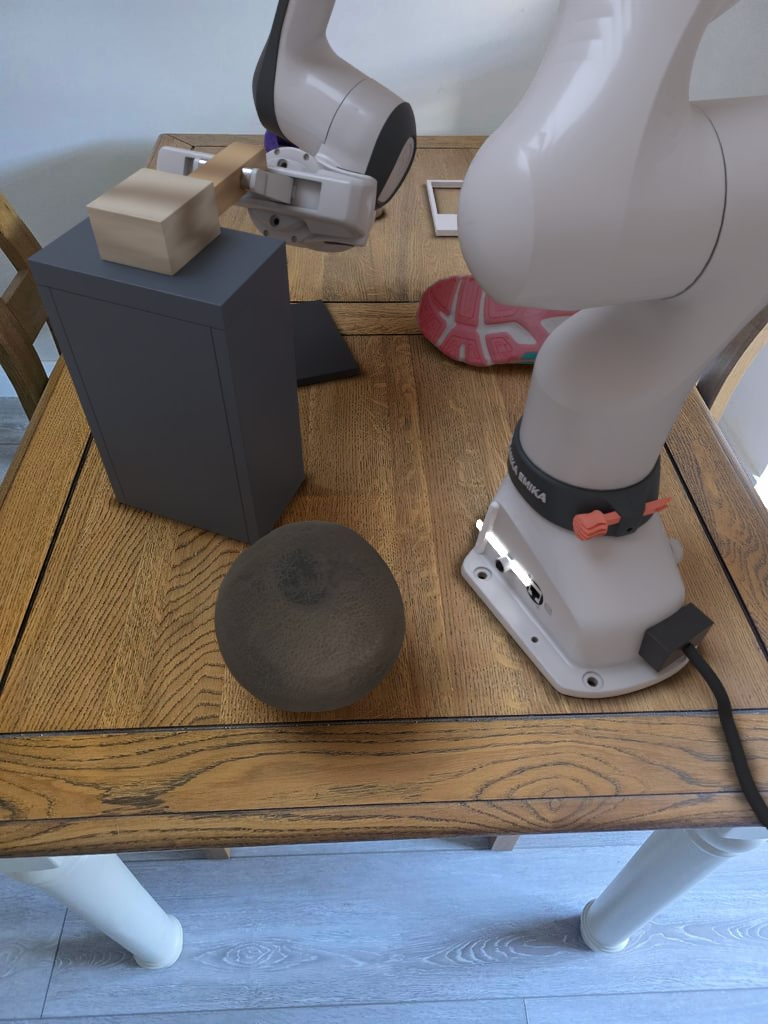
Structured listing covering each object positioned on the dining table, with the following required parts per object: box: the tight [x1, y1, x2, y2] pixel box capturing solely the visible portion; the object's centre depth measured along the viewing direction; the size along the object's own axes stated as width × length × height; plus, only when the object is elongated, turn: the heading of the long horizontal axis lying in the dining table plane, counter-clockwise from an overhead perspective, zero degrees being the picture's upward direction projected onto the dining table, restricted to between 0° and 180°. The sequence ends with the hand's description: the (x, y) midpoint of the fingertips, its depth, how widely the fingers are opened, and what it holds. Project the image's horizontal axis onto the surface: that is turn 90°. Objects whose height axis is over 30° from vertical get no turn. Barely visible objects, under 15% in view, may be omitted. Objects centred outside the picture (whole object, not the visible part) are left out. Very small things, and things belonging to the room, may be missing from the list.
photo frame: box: [425, 179, 464, 237], centre depth 115 cm, size 15×1×18 cm
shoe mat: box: [290, 298, 360, 387], centre depth 89 cm, size 16×10×1 cm, turn 20°
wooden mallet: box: [85, 140, 267, 276], centre depth 55 cm, size 18×6×4 cm, turn 160°
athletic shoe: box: [414, 274, 582, 368], centre depth 88 cm, size 27×9×12 cm
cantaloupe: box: [213, 520, 407, 713], centre depth 53 cm, size 14×14×15 cm
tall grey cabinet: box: [26, 216, 306, 546], centre depth 62 cm, size 10×16×26 cm, turn 70°
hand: (224, 173), depth 58 cm, fingers closed on wooden mallet, 3 cm apart
